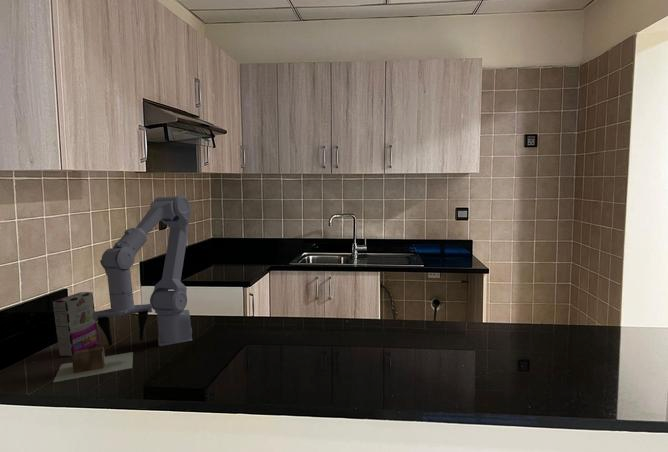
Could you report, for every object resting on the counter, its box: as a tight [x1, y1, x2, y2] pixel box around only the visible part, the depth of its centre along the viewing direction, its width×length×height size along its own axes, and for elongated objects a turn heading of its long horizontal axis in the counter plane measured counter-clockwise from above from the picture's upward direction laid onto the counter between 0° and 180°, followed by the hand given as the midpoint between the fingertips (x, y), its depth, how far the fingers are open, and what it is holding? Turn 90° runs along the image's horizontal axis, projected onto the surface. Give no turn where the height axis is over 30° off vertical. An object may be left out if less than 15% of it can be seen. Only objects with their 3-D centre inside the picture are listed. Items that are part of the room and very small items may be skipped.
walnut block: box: [71, 346, 106, 373], centre depth 127 cm, size 4×6×7 cm
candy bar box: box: [52, 291, 100, 357], centre depth 143 cm, size 11×5×16 cm, turn 168°
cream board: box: [52, 351, 134, 383], centre depth 128 cm, size 18×14×1 cm
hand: (126, 341), depth 131 cm, fingers open, 7 cm apart
